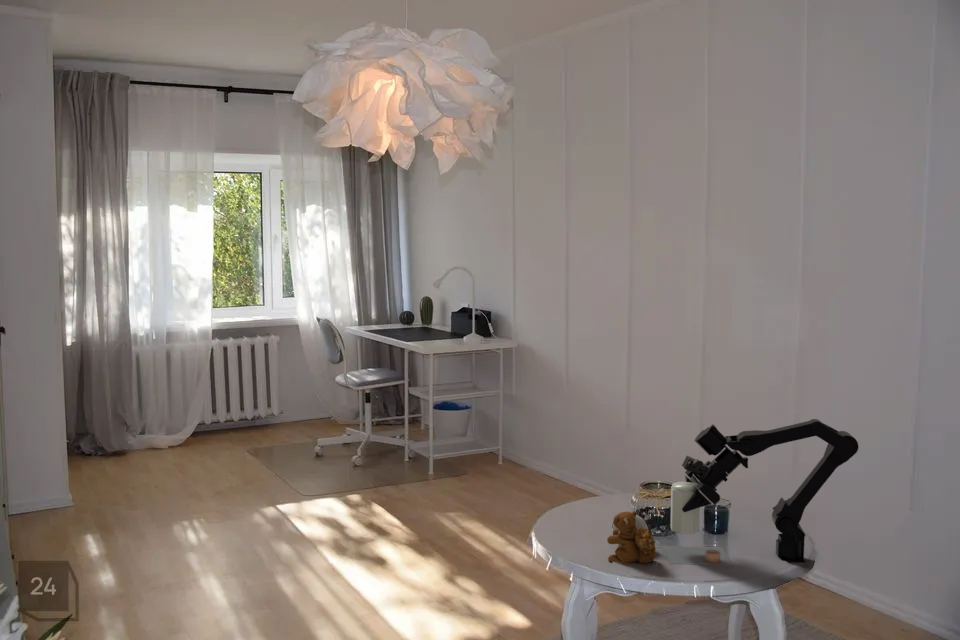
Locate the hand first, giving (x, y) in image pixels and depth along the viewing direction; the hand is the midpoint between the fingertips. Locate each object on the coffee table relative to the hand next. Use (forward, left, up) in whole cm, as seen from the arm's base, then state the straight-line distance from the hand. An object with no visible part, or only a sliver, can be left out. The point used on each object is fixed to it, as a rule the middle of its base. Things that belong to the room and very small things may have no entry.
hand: (680, 506), depth 248 cm
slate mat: (-5, +2, -13) cm, 14 cm away
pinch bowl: (-8, +6, -13) cm, 16 cm away
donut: (+13, -4, -14) cm, 19 cm away
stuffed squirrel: (+13, +6, -14) cm, 20 cm away
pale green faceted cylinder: (-1, 0, -6) cm, 7 cm away
